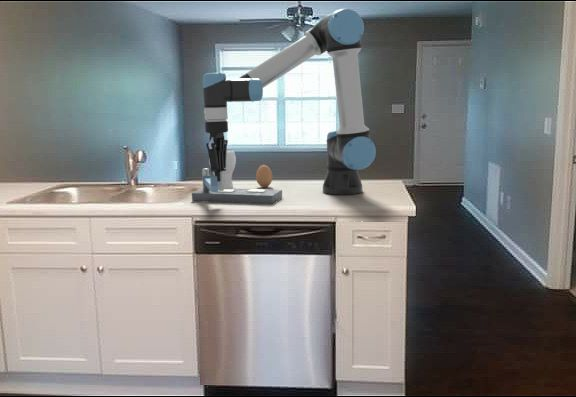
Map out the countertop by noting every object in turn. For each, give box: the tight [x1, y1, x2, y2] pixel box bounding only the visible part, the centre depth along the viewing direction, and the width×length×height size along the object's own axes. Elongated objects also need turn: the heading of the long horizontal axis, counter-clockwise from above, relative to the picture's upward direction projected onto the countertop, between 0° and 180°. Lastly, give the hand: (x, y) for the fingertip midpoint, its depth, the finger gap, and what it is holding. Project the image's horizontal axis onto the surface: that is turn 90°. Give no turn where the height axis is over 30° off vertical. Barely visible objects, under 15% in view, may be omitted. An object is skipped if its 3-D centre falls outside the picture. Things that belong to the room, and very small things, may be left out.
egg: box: [255, 164, 273, 188], centre depth 228 cm, size 7×7×9 cm
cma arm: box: [202, 174, 218, 192], centre depth 193 cm, size 20×3×6 cm, turn 16°
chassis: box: [191, 167, 283, 205], centre depth 202 cm, size 30×12×11 cm, turn 74°
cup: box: [208, 150, 237, 188], centre depth 225 cm, size 11×11×15 cm
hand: (219, 190), depth 191 cm, fingers closed
